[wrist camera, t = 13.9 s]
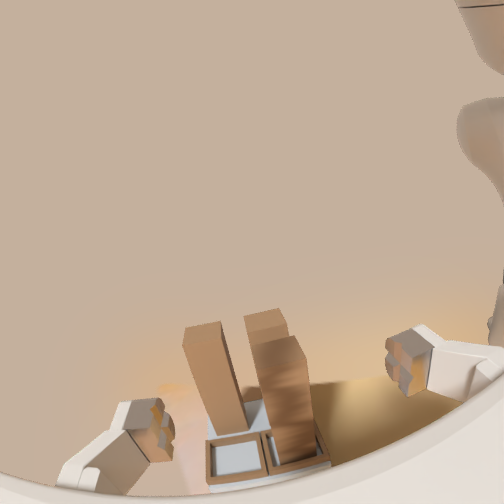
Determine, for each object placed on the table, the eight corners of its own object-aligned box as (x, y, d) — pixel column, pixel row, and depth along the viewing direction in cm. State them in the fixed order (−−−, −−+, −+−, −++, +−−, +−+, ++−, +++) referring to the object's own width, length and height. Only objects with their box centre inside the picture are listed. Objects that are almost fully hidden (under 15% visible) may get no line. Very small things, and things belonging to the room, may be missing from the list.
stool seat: (301, 401, 38) (285, 300, 34) (331, 474, 24) (326, 365, 21) (212, 420, 37) (177, 323, 33) (215, 498, 23) (158, 399, 20)
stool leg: (307, 432, 29) (294, 335, 26) (316, 455, 25) (306, 358, 22) (274, 440, 29) (251, 345, 26) (280, 465, 25) (256, 370, 22)
